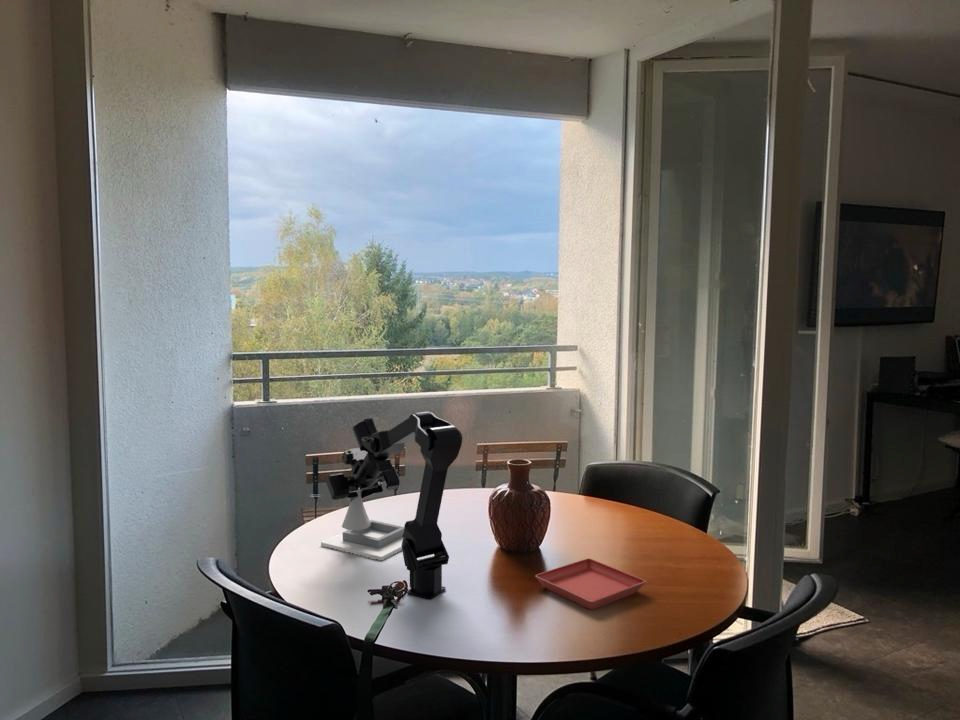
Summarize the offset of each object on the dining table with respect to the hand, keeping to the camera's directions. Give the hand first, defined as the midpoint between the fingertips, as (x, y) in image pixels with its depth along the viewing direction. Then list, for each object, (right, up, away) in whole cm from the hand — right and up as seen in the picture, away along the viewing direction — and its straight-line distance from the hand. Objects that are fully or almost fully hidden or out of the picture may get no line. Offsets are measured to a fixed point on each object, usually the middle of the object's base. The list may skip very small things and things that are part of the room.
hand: (353, 499), depth 190 cm
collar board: (+5, -12, +4) cm, 14 cm away
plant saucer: (+58, -16, -26) cm, 66 cm away
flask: (+1, -7, 0) cm, 7 cm away
